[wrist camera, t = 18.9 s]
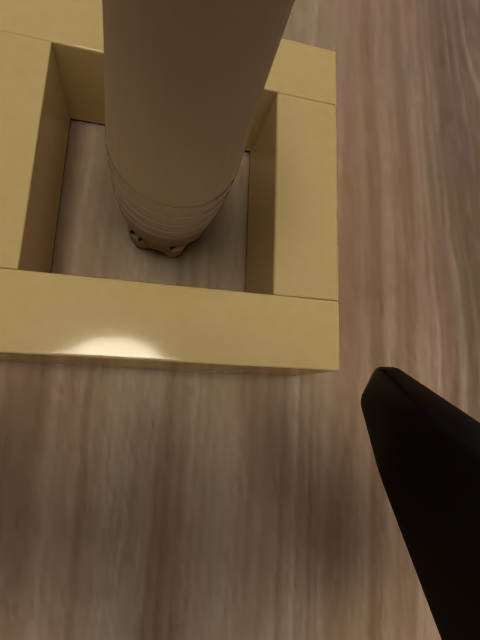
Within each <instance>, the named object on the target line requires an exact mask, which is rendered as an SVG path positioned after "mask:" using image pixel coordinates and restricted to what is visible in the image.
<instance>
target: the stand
mask: <svg viewBox="0 0 480 640" xmlns="http://www.w3.org/2000/svg"><path fill="white" fill-rule="evenodd" d="M70 118H71V119H77V120H82V121H88V122H93V123H99V124H104V125H105V89H104V39H103V11H102V0H0V361H11V362H30V363H50V364H70V365H90V366H110V367H130V368H149V369H169V370H189V371H209V372H229V373H249V374H269V375H288V376H299V375H308V374H316V373H325V372H333V371H339V369H340V355H339V302H337V301H338V299H339V290H338V211H337V131H336V52H335V51H331V50H327V49H324V48H320V47H316V46H312V45H308V44H304V43H300V42H296V41H292V40H288V39H284V38H281V41H280V44H279V47H278V50H277V52H276V55H275V58H274V61H273V64H272V67H271V70H270V73H269V76H268V78H267V81H266V84H265V87H264V90H263V93H262V96H261V99H260V103H259V106H258V109H257V112H256V115H255V118H254V121H253V125H252V128H251V131H250V134H249V137H248V140H247V143H246V146H245V150H246V151H251V152H250V173H249V203H248V233H247V263H246V292H239V291H229V290H219V289H209V288H198V287H188V286H178V285H168V284H158V283H148V282H138V281H128V280H117V279H107V278H97V277H87V276H77V275H67V274H57V273H50V272H51V264H52V257H53V249H54V241H55V234H56V226H57V218H58V211H59V203H60V195H61V188H62V180H63V172H64V165H65V157H66V149H67V142H68V134H69V126H70Z"/></svg>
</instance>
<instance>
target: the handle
mask: <svg viewBox="0 0 480 640" xmlns="http://www.w3.org/2000/svg"><path fill="white" fill-rule="evenodd" d="M294 1H295V0H102V11H103V39H104V89H105V135H106V147H107V154H108V161H109V168H110V173H111V178H112V182H113V186H114V190H115V194H116V198H117V201H118V204H119V207H120V209H121V212H122V214H123V216H124V218H125V220H126V222H127V224H128V225H129V228H128V231H129V235H130V237H131V239H132V240H133V242H134V243H135V244H136V245H137V246H138V247H139V248H141V249H144V248H151V249H156V250H158V251H161V252H163V253H165V254H166V255H167V256H168V257H175V256H178V255H179V254H180V253H181V252H182V250H183V249H184V247H185V246H186V245H187V244H188V243H190V242H192V241H196V240H197V239H199V238H200V236H201V235H202V234H203V232H204V230H205V229H206V227H207V226H208V225H209V224H210V222H211V221H212V219H213V218H214V217H215V215H216V214H217V212H218V210H219V209H220V207H221V206H222V204H223V202H224V200H225V198H226V196H227V194H228V192H229V189H230V187H231V185H232V183H233V181H234V178H235V176H236V173H237V171H238V168H239V165H240V162H241V159H242V156H243V153H244V150H245V146H246V143H247V140H248V137H249V134H250V131H251V128H252V125H253V121H254V118H255V115H256V112H257V109H258V106H259V103H260V99H261V96H262V93H263V90H264V87H265V84H266V81H267V78H268V76H269V73H270V70H271V67H272V64H273V61H274V58H275V55H276V52H277V50H278V47H279V44H280V41H281V38H282V35H283V32H284V29H285V27H286V24H287V21H288V18H289V15H290V12H291V9H292V6H293V3H294Z"/></svg>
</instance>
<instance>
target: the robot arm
mask: <svg viewBox="0 0 480 640" xmlns="http://www.w3.org/2000/svg"><path fill="white" fill-rule="evenodd" d="M361 407H362V411H363V415H364V419H365V422H366V426H367V430H368V434H369V437H370V441H371V445H372V449H373V452H374V456H375V460H376V464H377V467H378V470H379V474H380V477H381V479H382V482H383V485H384V488H385V491H386V493H387V496H388V498H389V501H390V504H391V506H392V509H393V512H394V514H395V517H396V520H397V522H398V525H399V528H400V530H401V533H402V536H403V538H404V541H405V544H406V546H407V549H408V552H409V554H410V557H411V559H412V562H413V565H414V567H415V570H416V573H417V575H418V578H419V581H420V583H421V586H422V589H423V591H424V594H425V597H426V599H427V602H428V605H429V607H430V610H431V613H432V615H433V618H434V620H435V623H436V626H437V628H438V631H439V634H440V636H441V639H442V640H480V423H479V422H478V421H476V420H475V419H473V418H472V417H470V416H469V415H467V414H466V413H464V412H463V411H461V410H460V409H458V408H457V407H455V406H454V405H452V404H451V403H449V402H448V401H446V400H445V399H443V398H442V397H440V396H439V395H437V394H436V393H434V392H433V391H431V390H430V389H428V388H427V387H425V386H424V385H422V384H421V383H419V382H418V381H416V380H415V379H413V378H412V377H410V376H409V375H407V374H406V373H404V372H403V371H401V370H400V369H398V368H394V367H378V368H376V369H375V370H374V372H373V374H372V376H371V378H370V380H369V382H368V384H367V386H366V388H365V390H364V392H363V394H362V398H361Z"/></svg>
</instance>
